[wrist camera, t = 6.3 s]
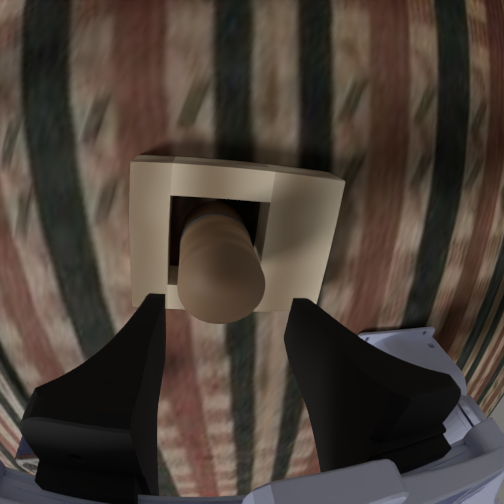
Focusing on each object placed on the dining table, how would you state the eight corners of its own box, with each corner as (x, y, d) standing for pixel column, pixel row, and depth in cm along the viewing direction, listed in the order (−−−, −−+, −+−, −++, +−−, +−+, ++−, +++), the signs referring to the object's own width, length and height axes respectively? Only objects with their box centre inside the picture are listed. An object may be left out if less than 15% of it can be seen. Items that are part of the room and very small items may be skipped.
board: (329, 172, 20) (345, 181, 18) (303, 292, 24) (314, 311, 22) (138, 154, 18) (130, 161, 16) (138, 286, 22) (132, 306, 19)
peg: (248, 202, 20) (272, 248, 14) (241, 261, 22) (260, 324, 16) (182, 198, 20) (176, 244, 13) (180, 258, 21) (176, 323, 15)
